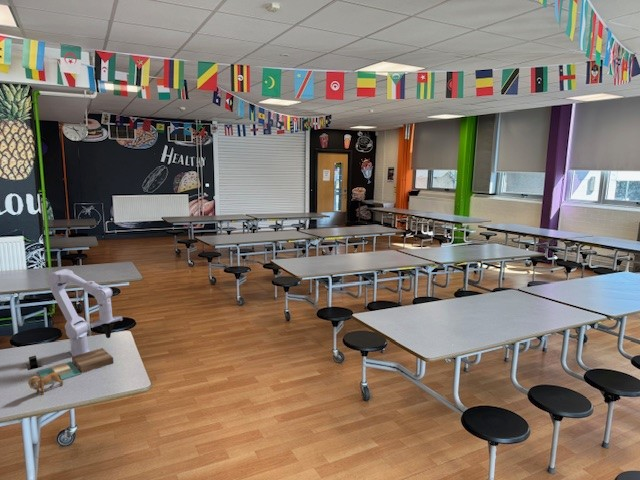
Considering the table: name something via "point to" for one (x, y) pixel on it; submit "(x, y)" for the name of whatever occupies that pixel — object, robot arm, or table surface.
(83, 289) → the robot arm
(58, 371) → the beech tile
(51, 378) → the lion figurine
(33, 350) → the table surface
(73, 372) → the teal mat
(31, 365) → the black slotted bracket
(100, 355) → the walnut board
